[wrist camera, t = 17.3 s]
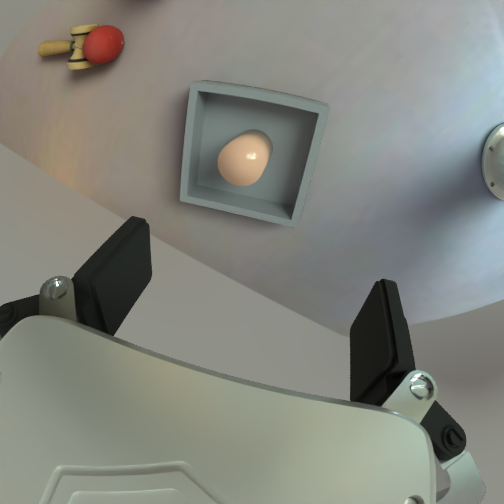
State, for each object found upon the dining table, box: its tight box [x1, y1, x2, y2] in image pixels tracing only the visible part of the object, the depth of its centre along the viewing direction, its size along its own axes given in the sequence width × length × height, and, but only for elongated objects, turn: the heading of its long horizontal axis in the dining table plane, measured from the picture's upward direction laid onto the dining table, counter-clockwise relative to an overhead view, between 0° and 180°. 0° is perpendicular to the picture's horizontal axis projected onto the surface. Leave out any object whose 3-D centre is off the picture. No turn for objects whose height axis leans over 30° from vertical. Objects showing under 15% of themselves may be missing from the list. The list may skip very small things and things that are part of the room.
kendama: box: [38, 24, 125, 70], centre depth 30 cm, size 8×6×18 cm
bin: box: [180, 80, 330, 228], centre depth 36 cm, size 16×16×5 cm
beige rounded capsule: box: [218, 129, 273, 186], centre depth 34 cm, size 5×5×8 cm
